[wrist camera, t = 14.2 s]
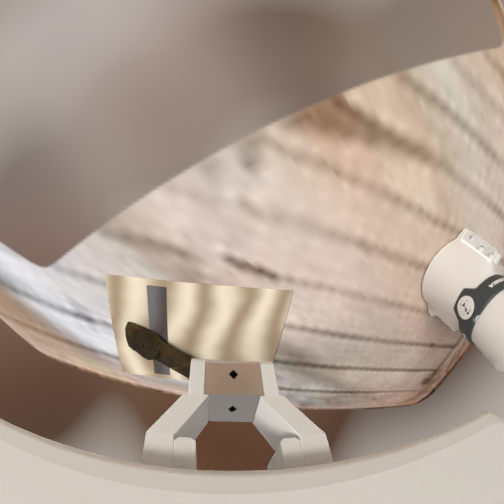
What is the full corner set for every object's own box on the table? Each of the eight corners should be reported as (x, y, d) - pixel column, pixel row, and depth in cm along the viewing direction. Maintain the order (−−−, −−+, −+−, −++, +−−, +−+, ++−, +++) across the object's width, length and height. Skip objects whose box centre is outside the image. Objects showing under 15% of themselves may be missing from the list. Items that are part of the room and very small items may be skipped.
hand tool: (223, 369, 49) (224, 389, 45) (208, 379, 50) (208, 398, 46) (137, 310, 42) (131, 330, 38) (124, 323, 43) (117, 342, 39)
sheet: (291, 287, 44) (293, 291, 43) (266, 379, 53) (266, 383, 52) (107, 271, 39) (105, 274, 39) (123, 368, 49) (122, 371, 48)
